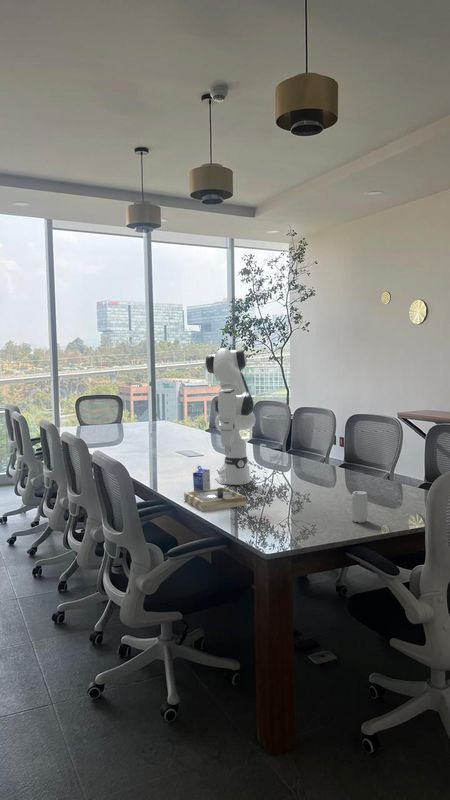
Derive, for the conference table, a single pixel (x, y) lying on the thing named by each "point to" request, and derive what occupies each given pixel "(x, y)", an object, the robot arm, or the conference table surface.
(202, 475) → the ink cartridge box
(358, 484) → the conference table surface
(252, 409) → the robot arm
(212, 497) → the dial
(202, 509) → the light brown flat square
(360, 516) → the beverage can
